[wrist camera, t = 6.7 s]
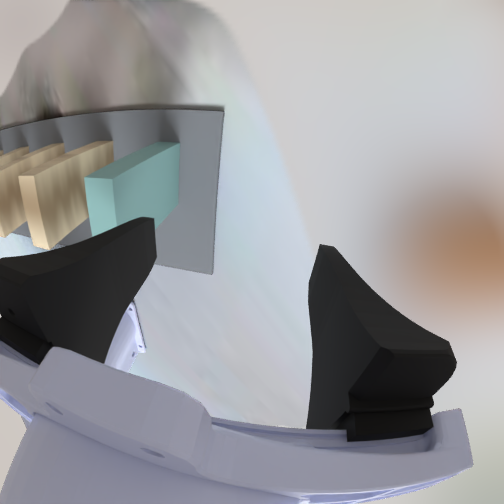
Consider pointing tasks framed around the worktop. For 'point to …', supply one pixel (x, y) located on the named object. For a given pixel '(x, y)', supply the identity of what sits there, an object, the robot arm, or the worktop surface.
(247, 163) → the worktop surface
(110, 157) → the domino
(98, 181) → the domino
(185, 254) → the felt mat
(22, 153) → the domino
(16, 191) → the domino
